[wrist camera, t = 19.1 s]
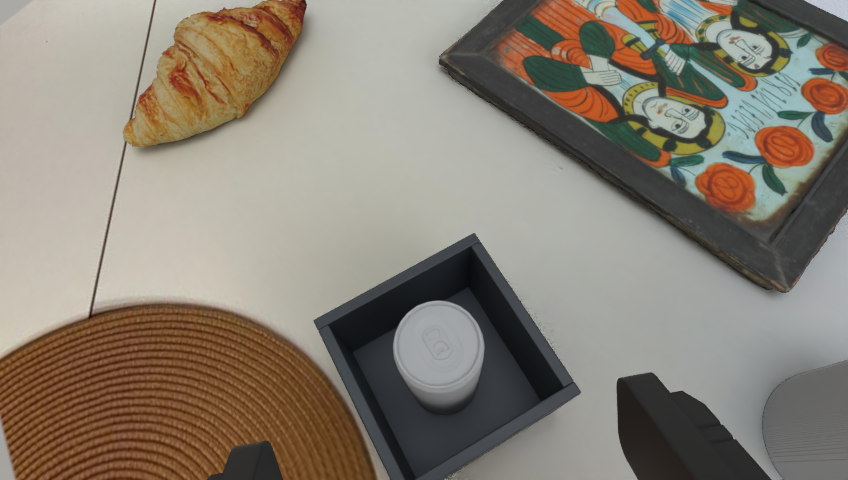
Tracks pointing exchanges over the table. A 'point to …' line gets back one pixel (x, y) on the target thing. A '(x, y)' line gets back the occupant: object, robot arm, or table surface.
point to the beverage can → (440, 355)
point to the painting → (686, 111)
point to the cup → (809, 425)
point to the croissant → (215, 70)
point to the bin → (499, 379)
